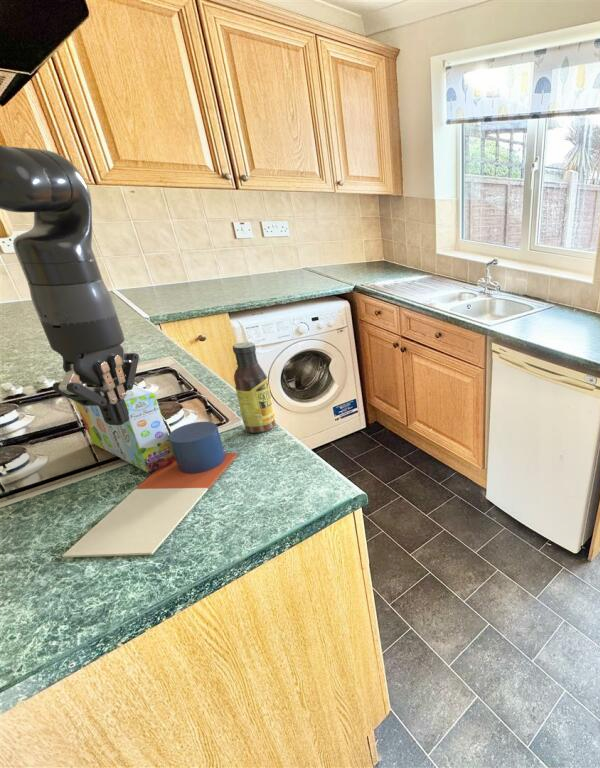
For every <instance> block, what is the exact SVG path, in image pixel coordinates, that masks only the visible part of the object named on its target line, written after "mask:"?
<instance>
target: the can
mask: <svg viewBox="0 0 600 768" xmlns="http://www.w3.org/2000/svg"><path fill="white" fill-rule="evenodd" d="M168 439H169V442H170V444H171V447H172V450H173V453H174V456H175V459H176V462H177V465H178V468H179V470H180V471H181V472H183V473H187V474H195V473H201V472H205V471H208V470H211V469H213V468H215V467H217V466H219V465H220V464H221V463H222V462H223V461H224V460H225V453H226V452H225V450H224V445H223V442H222V439H221V433H220V431H219V428H218V425H217V424H216V423H215V422H211V421H197V422H196V421H195V422H191V423H187V424H184V425H182V426H179V427H176V428H175V429H174V430H172V431H171V432H170V433H169V434H168Z"/></svg>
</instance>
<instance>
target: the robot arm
mask: <svg viewBox="0 0 600 768" xmlns="http://www.w3.org/2000/svg"><path fill="white" fill-rule="evenodd" d="M91 197H92V196H91V191H90V188H89V186H88V184H87V181H86V179H85V178H84V177H83V174H82V173H81V171H80V170H79V169H78V167H76V166H75V164H73V163H72V162H71V161H70V160H69V159H68V158H66V157H65V156H63V155H61V154H59V153H58V152H54V151H51V150H47V149H40V148H39V149H38V148H29V147H28V148H27V147H18V146H17V147H16V146H7V145H2V144H0V210H3V211H6V212H11V213H18V214H19V213H21V214H23V213H24V214H26V213H33V227H32V228H31V229H30V230H27V231H24V232H23V233H20V234H19V235H17V236H15V238H14V239H13V241H12V246H13V250H14V254H15V256H16V258H17V260H18V262H19V266H20V268H21V270H22V271H23V275H24V278H25V281H26V282H27V285H28V288H29V289H28V290H29V294H30V299H31V301H32V305H33V307H34V309H35V312H36V314H37V317H38V319H39V322H40V324H41V326H42V329H43V331H44V334H45V336H46V338H47V340H48V343H49V346H50V349H52V351H54V352H55V353H58V355H60V356H61V357H62V370H63V372H65V375H64V376H63V379H62V381H61V382H59V381H57V382H54V383H53V384H52V386H51V387H52V390H53V391H54V392H56V393H57V394H60V395H62V396H63V397H65V398H67V399H69V400H72V401H74V403H75V402H77V403H79V404H81V405H83V406H99V408H100V410H101V413H102V415H103V418H104V421H105V422H106V423H108V424H109V425H122V424H124V423H125V422H127V421H128V420H129V419H130V418H129V412H128V409H127V407H126V403H125V400H124V398H125V397H126V391H127V390H132V388H133V385H135V380H136V376H137V375H136V373H137V369H138V364H139V360H140V356H139V354H138V353H136V352H127V351H125V349H124V347H123V345H122V344H123V343H124V342H125V335H124V332H123V329H122V326H121V324H120V320H119V317H118V314H117V311H116V308H115V305H114V302H113V299H112V296H111V294H110V291H109V289H108V288H107V285H106V284H105V281H104V279H103V276H102V274H101V270H100V267H99V264H98V261H97V259H96V256H95V253H94V251H93V246H92V245H93V244H92V242H93V207H92V206H93V205H92V198H91ZM100 392H101V393H100Z"/></svg>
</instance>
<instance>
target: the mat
mask: <svg viewBox="0 0 600 768" xmlns="http://www.w3.org/2000/svg"><path fill="white" fill-rule="evenodd" d="M237 456H238V452H225V460H224V461H223V462H222V463H221V464H220V465H219V466H217V467H215V468H213V469H211V470H208V471H205V472H201V473H195V474H187V473H183V472H181V471H180V470H179V468H178V465H177V462H176V461H174V462H172V463H170V464H167V465H165V466H162V467H160V468H157V469H155V470H154V471H152V473H151V474H150V475H149V476H148V477H147V478H146V479H144V480H143V481H142V482H141V483H140V484H139V485H138V486H137V487H136V488H135V489H134V490H133V491H131V492H130V493H129V494H128V495H127V496H126V497H125V498H123V500H121V501H120V502H119V503H118V504H117V505H116V506H115V507H114V508H113V509H111V510H110V511H109V512H108V513H107V514H106V515H105V516H104V517H103V518H102V519H100V521H99V522H98V523H96V524H95V525H94V526H93V527H91V529H90V530H88V532H86V533H85V534H84V535H83V536H82V537H81V538H79V540H78V541H77V542H75V544H73V545H72V546H71V547H70V548H69V549H68V550H67V551H65V552H64V553H63V554H62V555H61V557H62V559H63V558H64V559H66V558H67V559H68V558H95V557H96V558H97V557H123V556H127V557H128V556H153V555H154V553H155V552H156V551H158V549H159V548H160V546H161V545H162V544H163V543H164V542H165V541H166V539H167V538H168V537H169V536H170V535H171V534H172V533H173V531H174V530H175V529H176V528H177V527H178V525H179V524H180V523H181V522H182V521H183V519H184V518H185V517H186V516H187V515H188V514H189V513H190V511H191V510H192V509H193V508H194V507H195V506H196V505H197V503H198V502H199V501H200V500H201V498H203V496H204V495H205V494H206V493H207V491H208V490H209V489H210V488H211V487H212V486H213V485H214V483H215V482H216V481H217V480H218V478H219V477H220V476H221V475H222V474H223V473H224V471H225V470H226V469H227V468H228V467H229V466H230V464H232V462H233V461H234V460H235V459H236V457H237Z"/></svg>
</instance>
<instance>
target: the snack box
mask: <svg viewBox="0 0 600 768" xmlns="http://www.w3.org/2000/svg"><path fill="white" fill-rule="evenodd" d="M100 393H101V392H100ZM124 400H125V403H126V407H127V409H128V412H129V418H130V419H129V420H128V421H127V422H125V423H124V424H122V425H109V424H108V423H106V422H105V421H104V418H103V415H102V413H101V410H100V408H99V406H83V405H81V404H79V403H77V402H75V401H74V403H75V406H76V408H77V410H78V413H79V415H80V417H81V419H82V422H83V424H84V427H85V430H86V431H87V433H88V436H89V438H90V440H91V443H92V444H93V445H95V446H97V447H98V448H101V449H103V450H104V451H106V452H108V453H109V454H112V455H114V456H116V457H118V458H120V459H121V460H123V461H126V462H127V463H128V464H131V465H132V466H134V467H137V468H138V469H139V470H142V471H144V472H145V473H147V474H149V473H150V472H154V471H156V470H157V469H158V468H160V467H162V466H165V465H167V464H170V463H172V462H174V461H176V459H175V456H174V453H173V450H172V447H171V444H170V442H169V439H168V436H169V434H168V430H167V427H166V424H165V421H164V418H163V414H162V413H161V409H160V406H159V402H158V399H157V397H156V394H155V392H154V391H151V390H149V389H146V388H144V387H141V386H139V385H136V384H133V388H132V390H127V391H126V397H125V398H124Z"/></svg>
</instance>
